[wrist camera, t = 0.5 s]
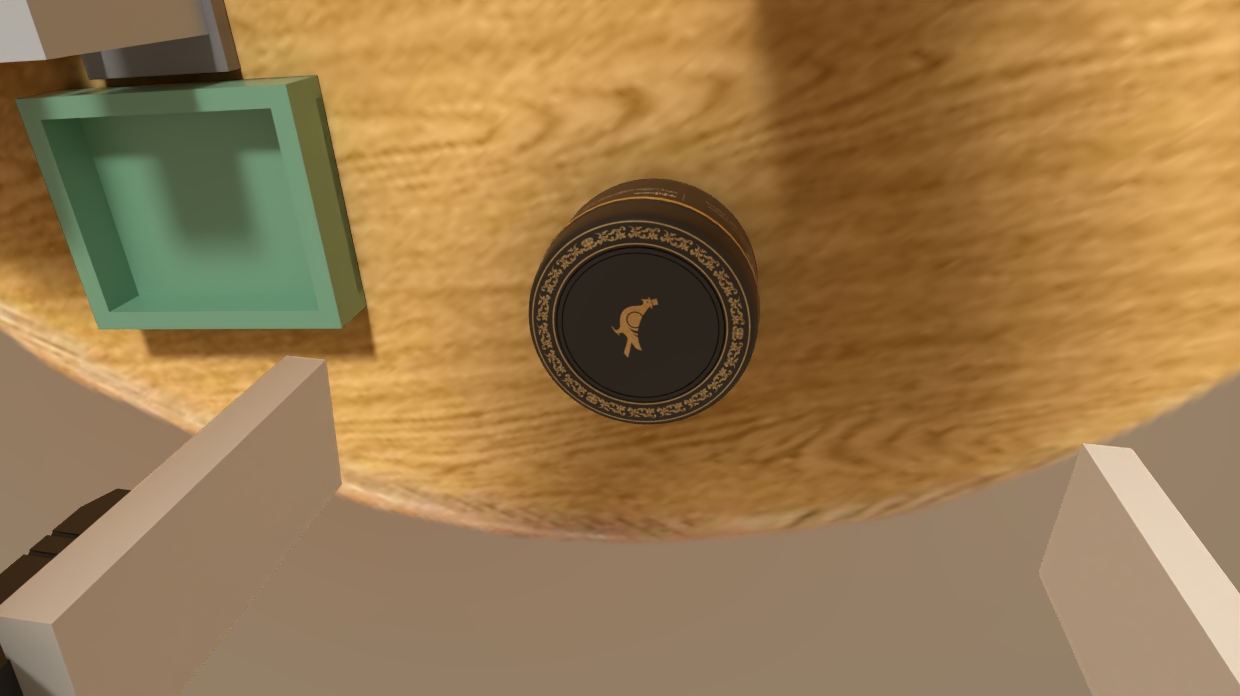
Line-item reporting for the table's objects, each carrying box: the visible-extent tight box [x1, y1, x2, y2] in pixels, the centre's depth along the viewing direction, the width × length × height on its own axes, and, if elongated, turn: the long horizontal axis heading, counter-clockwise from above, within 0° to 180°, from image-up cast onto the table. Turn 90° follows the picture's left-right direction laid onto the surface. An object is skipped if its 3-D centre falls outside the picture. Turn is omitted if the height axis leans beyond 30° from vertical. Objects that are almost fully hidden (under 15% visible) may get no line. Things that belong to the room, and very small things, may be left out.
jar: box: [529, 179, 760, 424], centre depth 38 cm, size 10×10×8 cm
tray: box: [15, 75, 366, 329], centre depth 42 cm, size 12×14×3 cm
